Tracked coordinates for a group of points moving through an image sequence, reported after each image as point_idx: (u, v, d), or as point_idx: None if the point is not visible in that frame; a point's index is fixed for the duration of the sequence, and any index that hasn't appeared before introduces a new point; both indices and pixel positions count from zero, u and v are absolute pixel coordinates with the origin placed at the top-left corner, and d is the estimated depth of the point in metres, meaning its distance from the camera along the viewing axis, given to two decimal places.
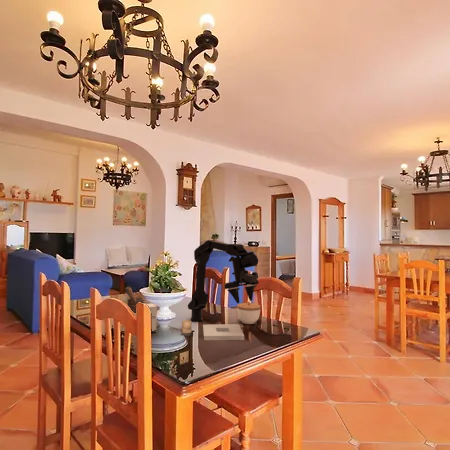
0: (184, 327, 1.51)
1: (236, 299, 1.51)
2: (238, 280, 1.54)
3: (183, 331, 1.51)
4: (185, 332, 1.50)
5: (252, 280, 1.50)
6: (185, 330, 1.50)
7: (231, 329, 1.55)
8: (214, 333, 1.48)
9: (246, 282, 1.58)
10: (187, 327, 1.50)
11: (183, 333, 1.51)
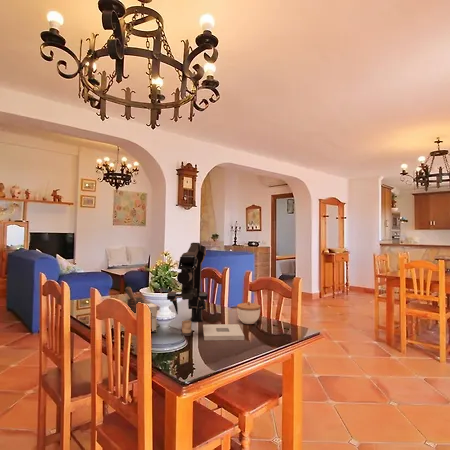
0: (184, 327, 1.51)
1: None
2: None
3: (183, 331, 1.51)
4: (185, 332, 1.50)
5: (184, 297, 1.45)
6: (185, 330, 1.50)
7: (231, 329, 1.55)
8: (214, 333, 1.48)
9: None
10: (187, 327, 1.50)
11: (183, 333, 1.51)
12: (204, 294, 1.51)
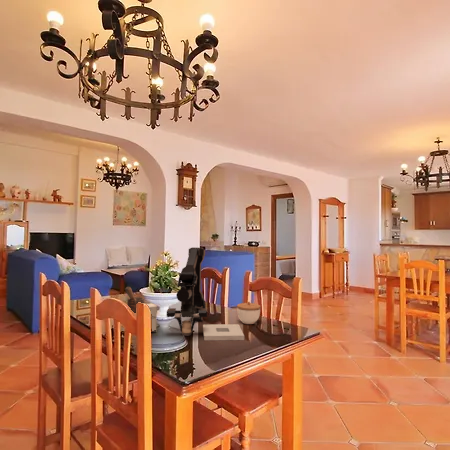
0: (184, 327, 1.51)
1: (180, 326, 1.52)
2: (181, 309, 1.52)
3: (183, 331, 1.51)
4: (185, 332, 1.50)
5: (184, 315, 1.45)
6: (185, 330, 1.50)
7: (231, 329, 1.55)
8: (214, 333, 1.48)
9: None
10: (187, 327, 1.50)
11: (183, 333, 1.51)
12: (204, 311, 1.51)
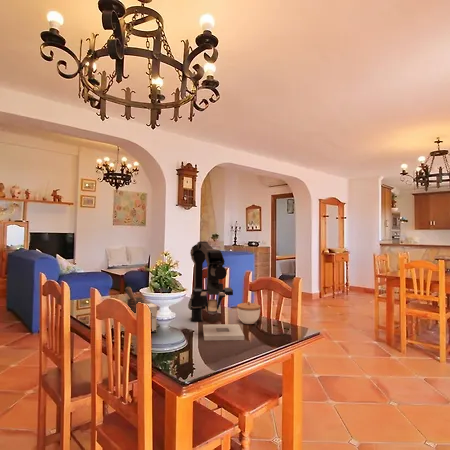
0: (210, 305, 1.52)
1: (206, 305, 1.54)
2: None
3: (209, 309, 1.52)
4: (211, 310, 1.52)
5: (211, 292, 1.46)
6: (212, 308, 1.52)
7: (231, 329, 1.55)
8: (214, 333, 1.48)
9: None
10: (213, 306, 1.52)
11: (209, 311, 1.52)
12: (229, 289, 1.52)
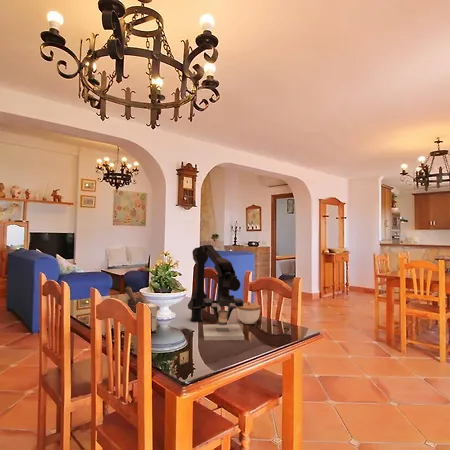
0: (221, 316, 1.52)
1: (216, 316, 1.54)
2: (217, 299, 1.54)
3: (220, 320, 1.53)
4: (222, 321, 1.52)
5: (222, 304, 1.47)
6: (222, 319, 1.52)
7: (231, 329, 1.55)
8: (214, 333, 1.48)
9: None
10: (224, 317, 1.52)
11: (220, 322, 1.52)
12: (240, 301, 1.53)
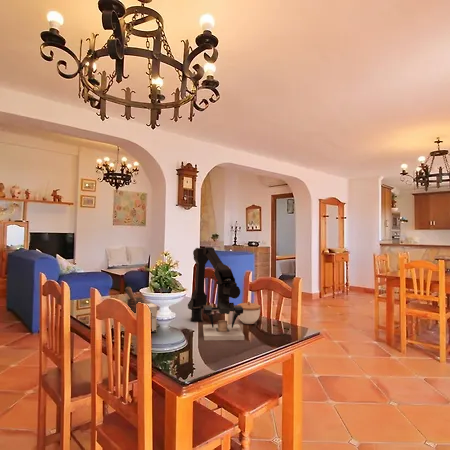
0: (220, 327, 1.52)
1: (211, 323, 1.54)
2: None
3: (219, 331, 1.52)
4: None
5: (222, 312, 1.47)
6: (222, 330, 1.52)
7: (231, 329, 1.55)
8: (214, 333, 1.48)
9: None
10: (224, 327, 1.52)
11: None
12: (240, 308, 1.53)
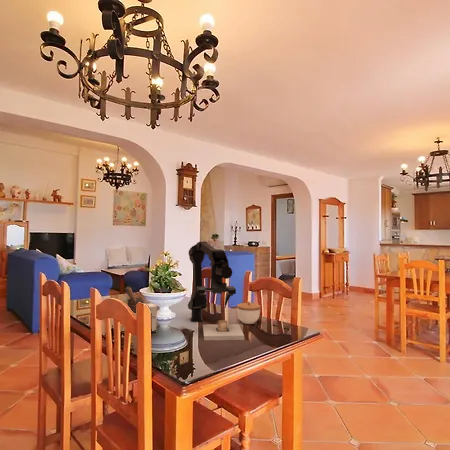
0: (220, 327, 1.52)
1: (204, 303, 1.58)
2: None
3: (219, 331, 1.52)
4: None
5: (215, 291, 1.50)
6: (222, 330, 1.52)
7: (231, 329, 1.55)
8: (214, 333, 1.48)
9: None
10: (224, 327, 1.52)
11: None
12: (232, 288, 1.57)
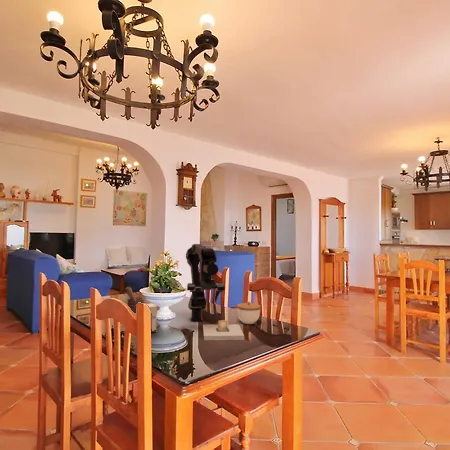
0: (220, 327, 1.52)
1: (194, 300, 1.63)
2: None
3: (219, 331, 1.52)
4: None
5: (204, 288, 1.56)
6: (222, 330, 1.52)
7: (231, 329, 1.55)
8: (214, 333, 1.48)
9: None
10: (224, 327, 1.52)
11: None
12: (221, 285, 1.62)
